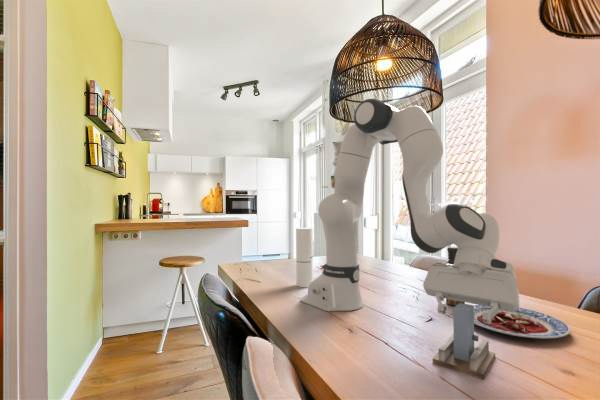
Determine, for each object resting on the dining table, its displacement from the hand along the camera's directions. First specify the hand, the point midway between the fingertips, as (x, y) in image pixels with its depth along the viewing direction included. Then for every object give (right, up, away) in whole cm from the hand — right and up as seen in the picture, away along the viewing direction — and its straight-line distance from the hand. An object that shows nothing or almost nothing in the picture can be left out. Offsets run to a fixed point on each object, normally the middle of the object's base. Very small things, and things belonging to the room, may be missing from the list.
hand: (462, 317), depth 71 cm
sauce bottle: (+18, -10, +39) cm, 44 cm away
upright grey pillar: (0, -9, 0) cm, 9 cm away
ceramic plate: (+25, -10, +20) cm, 33 cm away
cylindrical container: (-35, -11, +66) cm, 75 cm away
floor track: (0, -10, 0) cm, 10 cm away
